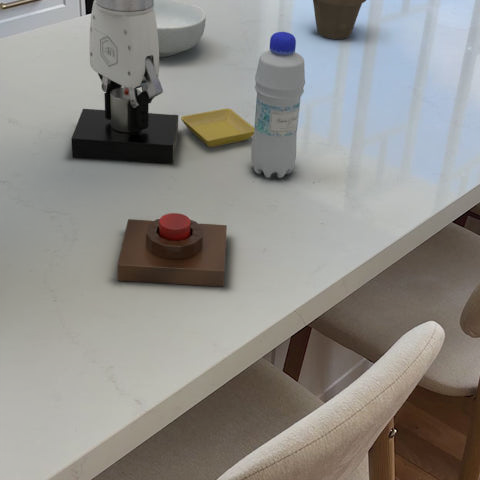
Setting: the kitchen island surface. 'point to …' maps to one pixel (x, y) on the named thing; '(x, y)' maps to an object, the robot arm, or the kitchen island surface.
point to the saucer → (218, 127)
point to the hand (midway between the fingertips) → (126, 122)
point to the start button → (174, 227)
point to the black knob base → (125, 139)
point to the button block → (173, 255)
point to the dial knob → (120, 108)
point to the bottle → (277, 106)
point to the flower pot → (336, 17)
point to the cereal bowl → (178, 25)
